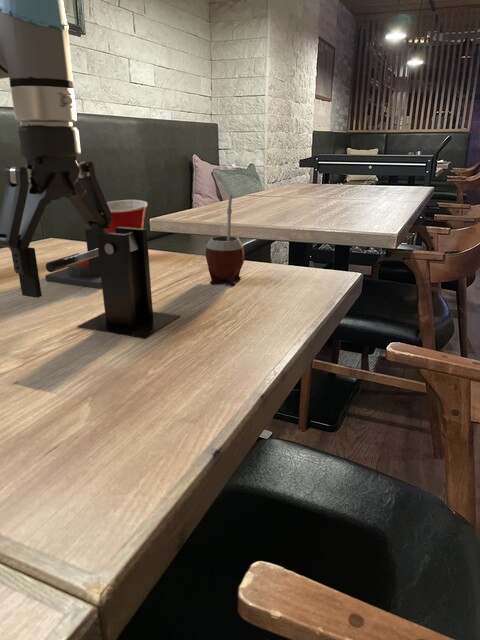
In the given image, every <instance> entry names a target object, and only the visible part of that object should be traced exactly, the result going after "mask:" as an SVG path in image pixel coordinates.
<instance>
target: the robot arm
mask: <svg viewBox="0 0 480 640" xmlns="http://www.w3.org/2000/svg"><path fill="white" fill-rule="evenodd" d="M64 3H65V2H64V0H0V80H2V79H8V80H9V86H10V92H11V99H12V107H13V114H14V120H15V121H16V122H18V123H20V126H18V127H17V129H16V133H17V141H18V146H19V147H18V149H19V153H20V155H21V156H22V157H23V158H24V160H25V167H24V166H11V165H10V166H6V167H5V170H4V174H5V189H4V193H3V194H4V195H3V199H2V202H1V207H0V247H4V248H8V249H9V250H10V252H11V259H12V264H13V269H14V270H13V271H14V272H15V274H18V280H19V285H20V290H21V295H22V296H25V297H30V298H37V299H39V298H41V297H43V295H42V294H43V293H42V287H41V281H40V275H39V268H38V261H37V255H36V248H35V247H29V246H30V244H31V242H32V240H33V237H34V235H35V232H36V231H37V228H38V225H39V223H40V221H41V218H42V216H43V214H44V212H45V209H46V207H47V206H48V205H50V204H51V202H52V201H55V200H60V199H61V198H62V199H67V200H68V201H69V202H70V204H71V205H72V206H73V208H74V209H75V210H76V211H77V212H78V213H79V215H80V217H81V219H83V220H84V222H85V223H86V224H87V225H88V227H89V228H85V230H84V231H85V240H86V242H85V243H86V250H87V251H86V252H88V251H91V250H94V249H98V245H97V236H96V233H99V232H105V230H106V229H109V228H110V222H112V221H113V216H112V214H111V211H110V209H109V207H108V204H107V202H108V201H107V200H106V198H105V195H104V192H103V191H102V189H101V186H100V184H99V181H98V179H97V177H96V171H95V166H94V165H95V164H94V162H92V161H85V160H84V161H83V160H82V161H81V160H80V161H79V160H77V157H79V156H80V155H81V153H82V151H81V142H80V133H79V129H78V128H77V127H76V126H75V127H74V125H73V123H76V122H77V120H78V119H77V111H76V101H75V93H74V78H73V68H72V67H73V66H72V57H71V47H70V36H69V29H70V25H69V23H68V22H67V17H66V10H65V4H64ZM101 212H103V214H102V213H101ZM88 260H89V269H90V271H97V272H100V263H99V256H97V257H94V258H91V259H88Z"/></svg>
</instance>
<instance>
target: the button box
mask: <svg viewBox="0 0 480 640" xmlns="http://www.w3.org/2000/svg"><path fill="white" fill-rule="evenodd" d="M44 277H45V281H46V283H47V282H48V283H55V284H61V285H69V286H76V287H82V288H90V289H98V290H101V289H102V281H101V272H97V271H90V269H89V266H79V265H77V264H75V265H72V266H69V267H66V268H64V269H61V270H58V271H55V272H50V273H48V274H45V276H44Z"/></svg>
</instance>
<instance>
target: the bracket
mask: <svg viewBox="0 0 480 640" xmlns="http://www.w3.org/2000/svg"><path fill="white" fill-rule="evenodd" d="M115 229H116V233H109V232H106V231H104V232H99V233H96V236H97V245H98V254H99V263H100V272H101V281H102V288H101V289H102V299H103V306H104V307H103V308H104V312H102V313H101V314H99V315H96V316H95V317H93V318H91V319H89V320H87V321H85V322H83V323H81V324H79V325H77V326H76V327H77V328H82V329H86V330H92V331H97V332H103V333H108V334H115V335H119V336H120V335H121V336H126V337H130V338H137V339H142V340H147V339H148V338H149V337H151V336H152V335H153V334H156V333H158V332H159V331H160V330H162V329H163V328H165V327H166V326H168V325H170V324H171V323H173V322H174V321H176V320H177V319H179V318H180V317H181V315H177V314H170V313H164V312H157V311H153V297H152V285H151V271H150V270H151V269H150V257H149V243H148V231H147V228H143V229H142V228H129V227H117V228H115ZM130 232H133V234H134V237H135V239H136V242H137V245H138V248H139V249H138V250H135V251H132V252H130V243H129V234H127V233H130Z"/></svg>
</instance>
